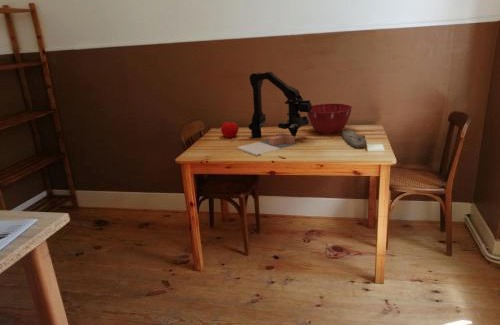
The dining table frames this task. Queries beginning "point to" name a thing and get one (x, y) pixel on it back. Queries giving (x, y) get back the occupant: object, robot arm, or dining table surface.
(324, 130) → the mixing bowl
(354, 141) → the grey wooden log
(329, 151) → the dining table surface
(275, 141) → the t block
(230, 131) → the tomato
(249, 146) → the board
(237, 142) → the dining table surface
